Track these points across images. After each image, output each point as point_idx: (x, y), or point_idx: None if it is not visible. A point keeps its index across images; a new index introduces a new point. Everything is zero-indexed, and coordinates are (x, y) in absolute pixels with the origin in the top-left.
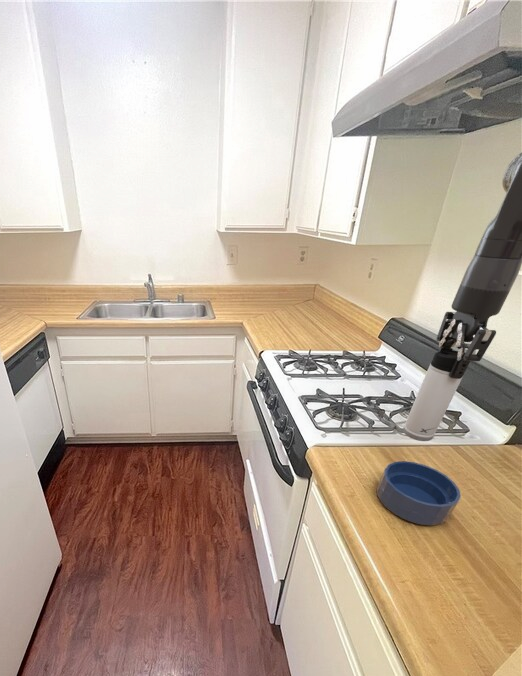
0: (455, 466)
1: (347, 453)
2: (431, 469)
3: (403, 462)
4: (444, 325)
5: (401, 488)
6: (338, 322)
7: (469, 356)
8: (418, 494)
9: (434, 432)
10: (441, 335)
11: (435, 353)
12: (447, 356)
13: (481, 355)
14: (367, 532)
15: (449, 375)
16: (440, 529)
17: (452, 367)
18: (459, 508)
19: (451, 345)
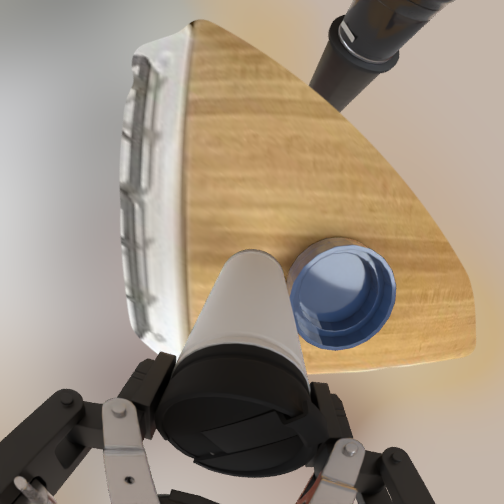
0: (250, 144)
1: None
2: (316, 261)
3: (293, 303)
4: (57, 488)
5: (308, 288)
6: None
7: (384, 491)
8: (324, 268)
9: (282, 272)
10: (84, 455)
11: (189, 456)
12: (241, 456)
13: (412, 474)
14: (367, 360)
15: None
16: None
17: None
18: (353, 217)
19: (139, 426)
